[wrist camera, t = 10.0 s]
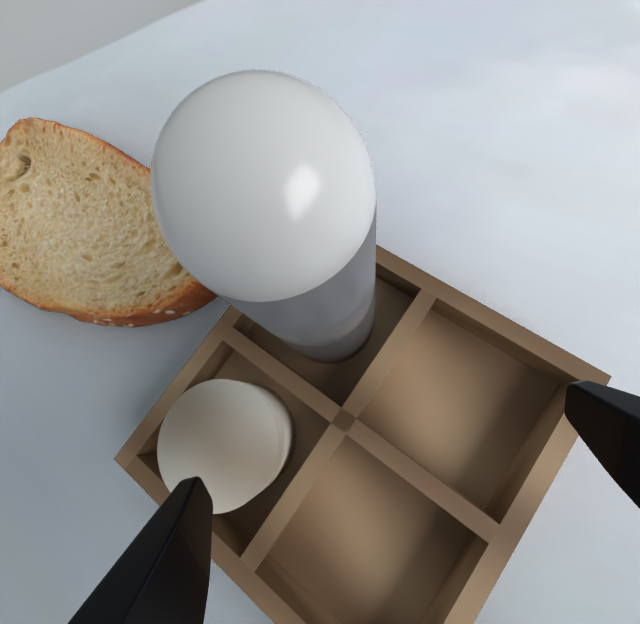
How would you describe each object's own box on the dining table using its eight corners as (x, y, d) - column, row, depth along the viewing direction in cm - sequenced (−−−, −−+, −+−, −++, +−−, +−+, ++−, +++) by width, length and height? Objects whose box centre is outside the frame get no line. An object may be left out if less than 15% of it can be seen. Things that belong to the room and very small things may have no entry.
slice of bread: (260, 289, 20) (235, 265, 17) (-6, 392, 21) (-81, 389, 18) (195, 81, 26) (167, 29, 22) (-14, 170, 27) (-74, 134, 23)
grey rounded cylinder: (362, 374, 17) (327, 284, 4) (274, 350, 18) (37, 219, 5) (384, 286, 18) (409, 5, 5) (300, 268, 19) (153, -5, 6)
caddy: (396, 693, 14) (404, 800, 10) (147, 451, 18) (88, 464, 15) (576, 380, 16) (638, 373, 12) (314, 228, 20) (300, 188, 17)
